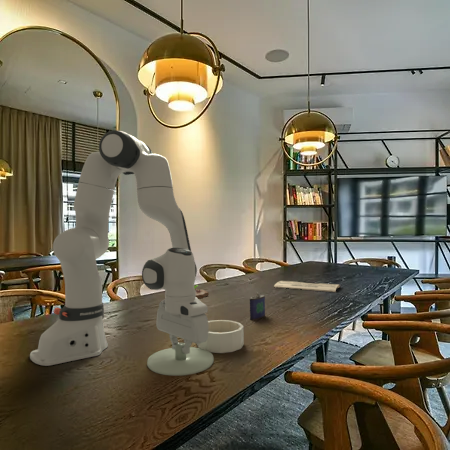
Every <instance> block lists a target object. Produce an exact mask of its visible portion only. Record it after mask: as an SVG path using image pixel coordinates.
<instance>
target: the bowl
mask: <svg viewBox="0 0 450 450" xmlns="http://www.w3.org/2000/svg"><path fill="white" fill-rule="evenodd" d="M244 328H245V327H244V325H243V324H242V323H240V322H239V321H235V320H228V319H218V320H217V319H216V320H208V339H207V340H206V342H203V343H200V344H196V346H197V348H200V349H204V350H207V351H209V352H210V353H214V354H215V353H216V354H225V353H233V352H235V351H238V350H241V349H242V348H243V346H244V343H245V339H244V338H245V336H244V332H245V331H244V330H245V329H244ZM218 332H222V333H218Z"/></svg>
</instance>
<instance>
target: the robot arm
mask: <svg viewBox="0 0 450 450" xmlns="http://www.w3.org/2000/svg"><path fill="white" fill-rule="evenodd" d="M98 143H99V145H98V151H93V152H91V153H89V154H88V156H87V158H86V159H85V162H84V164H83V166H82V169H81V173H80V177H79V179H78V183H77V187H76V193H75V195H74V202H73V209H74V211H75V227H72V228H68V229H66V230H64V231H62V232H61V233H59V234H58V235H57V236H56V237H55V238H54V240H53V243H52V250H53V253H54V256H55V257H56V259H58V260H59V263H60V268H61V271H62V274H63V280H64V291H65V292H64V293H65V295H64V296H65V298H64V300H65V305H64V306H63V307H62V308H60V307H55V308H54V309H53V313H54V315H56V316H57V315H58V316H59V317H58V320H57V321H55V322H54V323H53V324H52V325H50V327H48V328H47V329H46V330H45V331H44V332H42V333H41V335H40V337H39V340H38V347H37V349H35V350H34V349H33V350H32V351H31V352H30V354H29V360H30V361H32V362H33V363H34V364H36V365H40V366H45V367H47V366H48V367H50V366H53V365H58V364H62V363H63V364H64V363H67V362H71V361H72V362H74V361H78V360H81V359H88V358H91V357H97V356H100V355H101V354H102V352H103V351H104V350H106V349H107V347H108V346H109V344H108V341H107V337H106V333H105V327H104V317H105V316H104V315H105V308H104V307H105V306H104V302H103V280H102V277H101V275H100V273H99V270H98V264H97V259H99V258H101V257H102V256H103V255H104V254H105V253H106V252H107V250H108V248H109V246H110V240H109V222H110V220H109V219H110V212H111V207H112V202H113V197H114V193H115V188H116V183H117V180H118V178H119V176H120V175H121V174H123V175H125V176H128V175H134V176H135V179H136V180H135V181H136V194H137V195H136V196H137V197H136V198H137V203H138V206H139V209H140V210H141V211H142V213H143V214H144V215H145V216H146V217H148V218H149V219H152V220H154V221H157V222H159V223H160V224H162V225H163V226H164V227H165V228H166V229H167V232H168V233H169V236H170V241H171V247H170V248H168V249H167V250H166V251H165V252H164V253H163V254H162V255H161V254H160V256H157V257H154V258H152V259H149V260H147V261H146V262H145V263H144V264H143V266H142V272H141V279H142V281H143V284H144V286H146V288H147V289H149V290H154V291H158V290H159V291H160V290H164V291H165V292H164V299H162V300H161V301H160V302H159V304H158V305H159V306H158V308H157V312H156V313H157V314H156V324H155V325H156V328H157V330H158V331H161V332H163V333H167V334H169V335H168V336H169V340H170V343H171V348H172V349H174V350H175V344H177V343H179V341H178V340H179V339H183V343H185V345H184V347H182V353H184V354H189V353H190V347H192V344H193V343H194V344H196V345H197V344H200V343H203V342H206V340H207V339H208V321H209V319H208V315H207V313H208V311H209V307H208V305H207V304H206V303H204V302H203V301H201V300H200V298H199V299H198V298H197V297H196V292H195V288H194V286H195V281H196V276H197V272H198V268H197V264H196V261H195V256H194V253H193V252H192V248H191V244H190V243H191V242H190V239H189V234H188V228H187V224H186V220H185V216H184V214H183V210H182V209H181V208H180V207H179V206H178V203H177V201H176V198H175V193H174V185H173V179H172V172H171V168H170V165H169V161H168V159H167V158H166V157H165V156H163V155H161V154H157V153H153V151H152V150H151V148H150V147H149V145H147V144H146V143H145V142H143V141H142V140H140V139H139V138H137V137H135V136H133V135H131V134H129V133H127V132H125V131H122V130H114V129H113V130H110V131H107V132H106V133H104V134H103V136H102V137H101V138H100V140H99V142H98ZM178 338H179V339H178Z"/></svg>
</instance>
